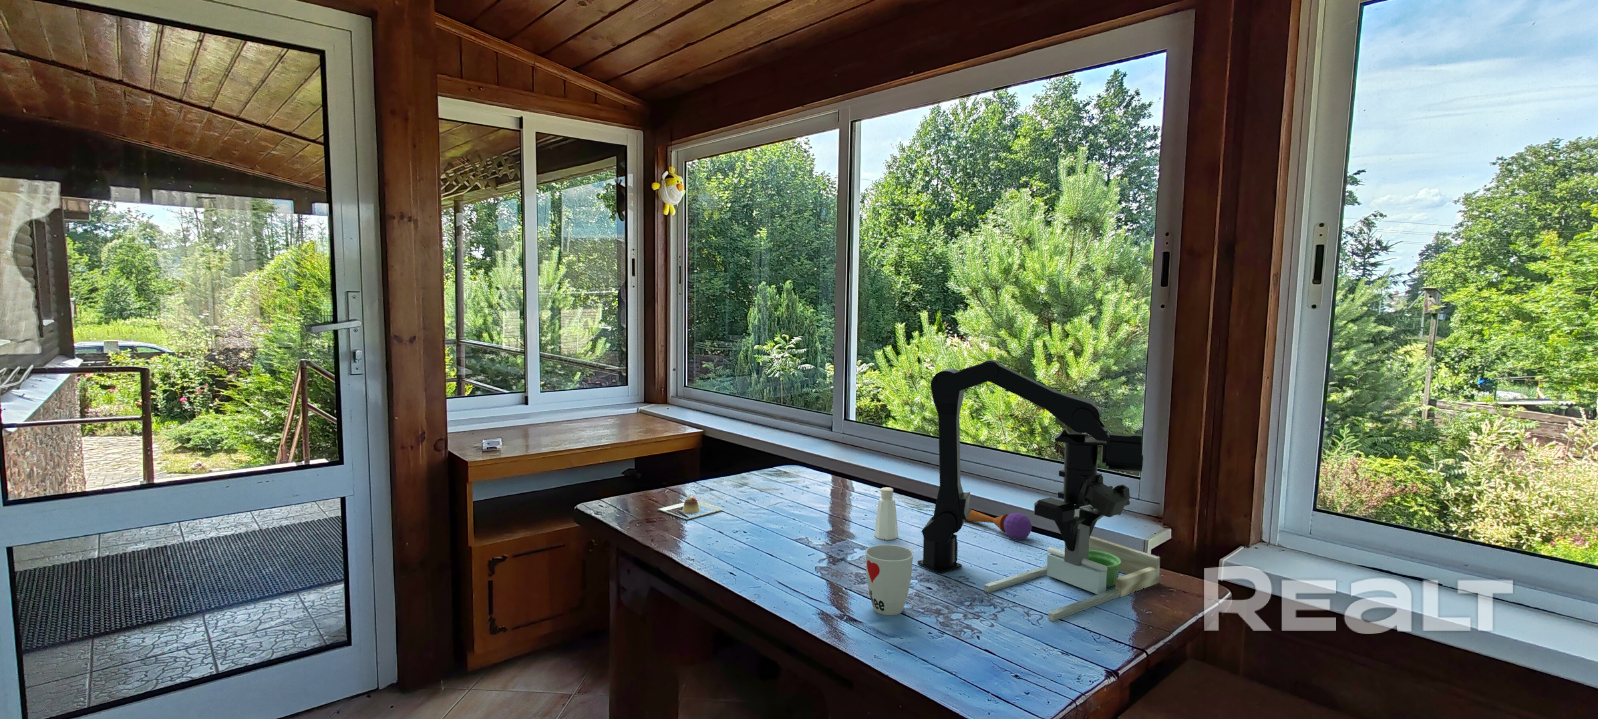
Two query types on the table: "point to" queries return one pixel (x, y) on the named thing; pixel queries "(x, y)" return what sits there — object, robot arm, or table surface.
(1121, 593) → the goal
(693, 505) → the dessert
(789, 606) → the table surface
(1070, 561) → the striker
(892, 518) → the pepper shaker
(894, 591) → the cup
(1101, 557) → the ramekin
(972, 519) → the maraca
